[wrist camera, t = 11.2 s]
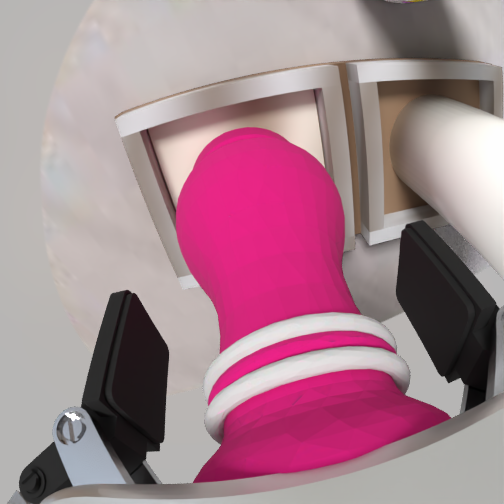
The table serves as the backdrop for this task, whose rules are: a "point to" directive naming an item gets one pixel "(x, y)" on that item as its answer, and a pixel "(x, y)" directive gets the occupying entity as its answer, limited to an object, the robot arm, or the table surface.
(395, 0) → the supplement bottle
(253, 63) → the table surface
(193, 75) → the table surface
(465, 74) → the rail
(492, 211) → the salt shaker
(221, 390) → the pepper mill
